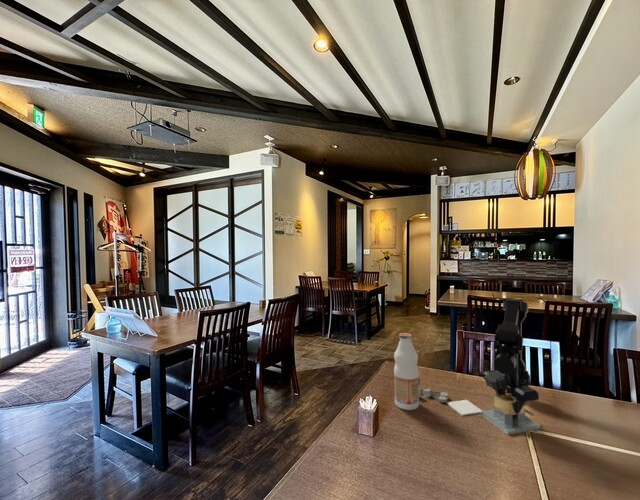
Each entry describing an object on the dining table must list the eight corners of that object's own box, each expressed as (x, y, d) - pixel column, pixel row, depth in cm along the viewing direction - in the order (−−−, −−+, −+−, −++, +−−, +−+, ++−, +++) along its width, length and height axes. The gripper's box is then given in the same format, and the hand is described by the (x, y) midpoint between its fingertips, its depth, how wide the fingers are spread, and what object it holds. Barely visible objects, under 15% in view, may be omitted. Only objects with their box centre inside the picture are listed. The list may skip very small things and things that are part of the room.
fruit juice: (395, 409, 118) (393, 337, 118) (394, 397, 127) (392, 330, 127) (420, 411, 116) (419, 338, 116) (417, 399, 126) (416, 331, 125)
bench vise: (513, 410, 116) (513, 390, 116) (542, 428, 104) (542, 406, 104) (481, 415, 113) (480, 395, 113) (507, 434, 101) (507, 412, 101)
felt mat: (466, 400, 124) (466, 399, 124) (482, 412, 115) (482, 411, 115) (446, 403, 122) (446, 402, 122) (461, 415, 113) (461, 414, 113)
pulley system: (423, 411, 118) (454, 402, 123) (422, 399, 118) (453, 390, 123) (386, 384, 144) (413, 377, 149) (385, 374, 144) (412, 368, 149)
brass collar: (509, 403, 112) (509, 392, 112) (524, 412, 106) (524, 401, 106) (494, 405, 111) (494, 394, 111) (508, 415, 105) (508, 403, 105)
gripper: (470, 357, 116) (471, 398, 116) (510, 378, 98) (511, 426, 98) (495, 354, 118) (496, 395, 118) (539, 374, 100) (540, 421, 100)
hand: (509, 408), depth 109 cm, fingers closed on brass collar, 6 cm apart
